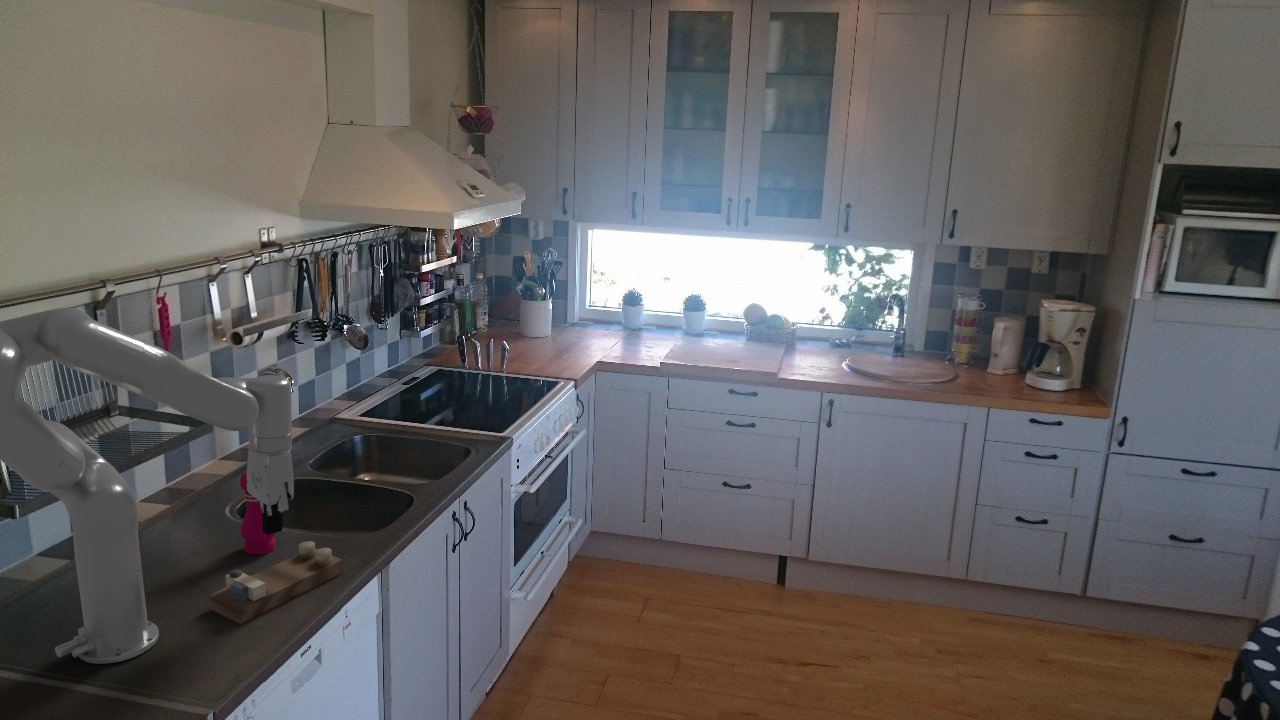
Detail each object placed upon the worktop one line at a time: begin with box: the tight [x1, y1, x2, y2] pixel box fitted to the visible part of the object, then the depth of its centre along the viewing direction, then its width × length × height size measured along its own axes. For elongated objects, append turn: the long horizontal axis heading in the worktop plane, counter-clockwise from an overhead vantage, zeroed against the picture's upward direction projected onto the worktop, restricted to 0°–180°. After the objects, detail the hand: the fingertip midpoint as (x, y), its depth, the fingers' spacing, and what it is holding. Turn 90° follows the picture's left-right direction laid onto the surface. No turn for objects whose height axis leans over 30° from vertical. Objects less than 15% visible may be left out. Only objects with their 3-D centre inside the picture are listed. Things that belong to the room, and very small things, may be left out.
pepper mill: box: [239, 470, 277, 556], centre depth 192 cm, size 7×7×20 cm
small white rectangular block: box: [225, 568, 266, 601], centre depth 170 cm, size 8×3×3 cm, turn 58°
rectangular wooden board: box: [208, 540, 344, 625], centre depth 177 cm, size 24×9×6 cm, turn 149°
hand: (272, 531), depth 172 cm, fingers closed
